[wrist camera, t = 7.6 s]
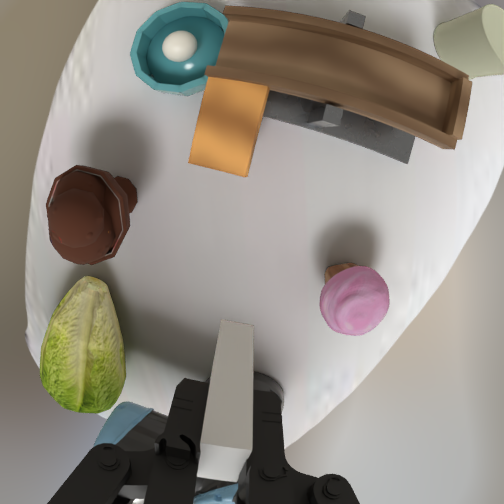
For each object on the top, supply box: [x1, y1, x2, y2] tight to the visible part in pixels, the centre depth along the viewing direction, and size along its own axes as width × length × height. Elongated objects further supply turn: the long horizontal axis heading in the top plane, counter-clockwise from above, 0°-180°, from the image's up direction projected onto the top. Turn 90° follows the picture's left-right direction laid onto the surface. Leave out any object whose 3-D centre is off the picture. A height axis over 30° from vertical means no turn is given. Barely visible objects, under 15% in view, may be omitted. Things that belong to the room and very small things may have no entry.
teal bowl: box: [130, 2, 228, 96], centre depth 27 cm, size 12×12×4 cm
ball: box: [162, 31, 197, 62], centre depth 26 cm, size 4×4×4 cm
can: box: [434, 4, 504, 79], centre depth 20 cm, size 9×9×12 cm
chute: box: [188, 6, 472, 177], centre depth 24 cm, size 17×24×6 cm
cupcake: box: [320, 263, 389, 336], centre depth 35 cm, size 9×9×10 cm
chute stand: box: [263, 10, 415, 164], centre depth 25 cm, size 13×22×10 cm, turn 76°
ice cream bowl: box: [46, 165, 137, 265], centre depth 29 cm, size 11×11×15 cm
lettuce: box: [40, 276, 126, 413], centre depth 40 cm, size 15×24×16 cm
